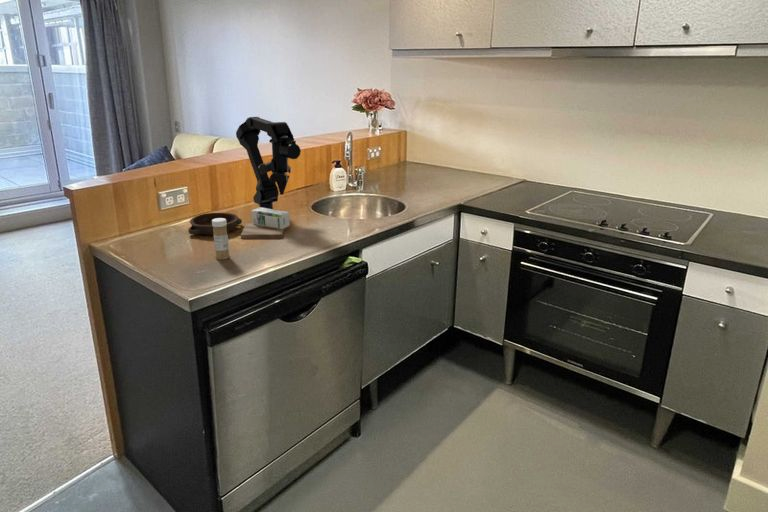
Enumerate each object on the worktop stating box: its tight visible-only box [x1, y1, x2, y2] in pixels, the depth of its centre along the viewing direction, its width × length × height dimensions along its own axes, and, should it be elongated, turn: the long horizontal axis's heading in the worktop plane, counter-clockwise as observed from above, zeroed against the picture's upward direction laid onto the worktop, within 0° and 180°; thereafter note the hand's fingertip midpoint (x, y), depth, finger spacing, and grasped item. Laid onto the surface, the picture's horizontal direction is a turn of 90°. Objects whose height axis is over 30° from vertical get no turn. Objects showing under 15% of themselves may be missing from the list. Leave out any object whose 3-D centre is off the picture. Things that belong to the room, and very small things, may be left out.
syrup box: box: [250, 206, 291, 229], centre depth 206 cm, size 6×6×14 cm
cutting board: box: [240, 221, 286, 239], centre depth 203 cm, size 16×15×2 cm
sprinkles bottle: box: [212, 218, 230, 261], centre depth 174 cm, size 5×5×13 cm
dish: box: [187, 212, 243, 236], centre depth 203 cm, size 18×22×5 cm
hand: (281, 194), depth 210 cm, fingers closed
